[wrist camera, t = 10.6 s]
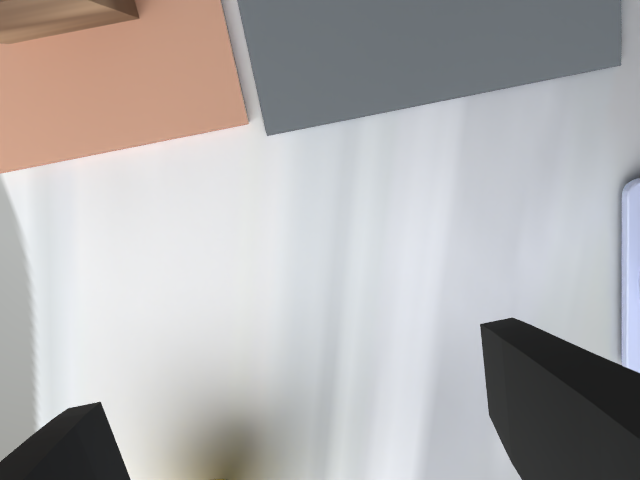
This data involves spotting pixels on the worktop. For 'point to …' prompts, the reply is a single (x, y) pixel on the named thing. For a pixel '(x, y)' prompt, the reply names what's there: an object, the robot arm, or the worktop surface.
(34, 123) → the tile
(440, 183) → the worktop surface
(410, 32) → the mat
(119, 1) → the walnut block
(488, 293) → the worktop surface
